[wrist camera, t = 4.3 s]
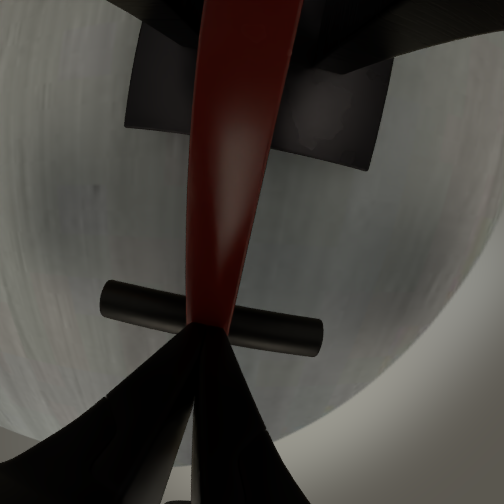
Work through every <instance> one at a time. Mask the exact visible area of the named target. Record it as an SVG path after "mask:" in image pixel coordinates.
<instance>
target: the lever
mask: <svg viewBox="0 0 504 504" xmlns="http://www.w3.org/2000/svg"><path fill="white" fill-rule="evenodd" d="M303 3H304V0H204V2H203V10H202V17H201V25H200V33H199V41H198V50H197V59H196V68H195V78H194V89H193V101H192V113H191V127H190V142H189V159H188V180H187V207H186V265H185V281H186V296H184V295H180V294H175V293H170V292H165V291H160V290H156V289H151V288H146V287H142V286H137V285H133V284H128V283H124V282H120V281H115V280H108V281H107V282H106V284H105V285H104V287H103V290H102V293H101V297H100V312H101V315H102V316H104V317H106V318H110V319H114V320H118V321H121V322H125V323H129V324H133V325H138V326H142V327H146V328H150V329H155V330H159V331H163V332H168V333H172V334H178V333H179V332H180V331H181V330H182V329H183V328H185V327H186V326H187V325H188V324H189V323H191V322H195V323H200V324H205V325H206V326H207V327H208V326H215V327H221V328H223V329H224V330H225V332H226V335H227V337H228V340H229V342H230V345H234V346H240V347H246V348H252V349H258V350H265V351H272V352H278V353H286V354H293V355H301V356H309V357H315V356H317V354H318V353H319V351H320V348H321V345H322V341H323V331H324V330H323V323H322V321H321V320H320V319H316V318H309V317H303V316H296V315H290V314H284V313H277V312H271V311H265V310H260V309H254V308H248V307H242V306H237V305H235V303H236V299H237V294H238V290H239V285H240V281H241V276H242V272H243V267H244V263H245V258H246V254H247V249H248V245H249V240H250V236H251V231H252V227H253V223H254V218H255V214H256V209H257V205H258V200H259V196H260V191H261V187H262V182H263V178H264V174H265V169H266V165H267V160H268V156H269V151H270V147H271V143H272V138H273V134H274V129H275V125H276V121H277V116H278V112H279V107H280V103H281V99H282V94H283V90H284V86H285V81H286V77H287V73H288V68H289V64H290V60H291V55H292V51H293V47H294V42H295V38H296V34H297V29H298V25H299V21H300V16H301V12H302V8H303Z"/></svg>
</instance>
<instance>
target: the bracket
mask: <svg viewBox="0 0 504 504" xmlns="http://www.w3.org/2000/svg"><path fill="white" fill-rule="evenodd" d="M107 1H108V2H110V3H112V4H114V5H116V6H117V7H119V8H121V9H123V10H124V11H126V12H128V13H129V14H131V15H133V16H135V17H136V18H138V19H140V20H141V21H142V24H141V29H140V33H139V38H138V43H137V47H136V52H135V58H134V63H133V68H132V74H131V80H130V86H129V93H128V99H127V107H126V114H125V122H124V127H126V128H135V129H145V130H154V131H163V132H171V133H179V134H187V135H190V127H191V113H192V101H193V89H194V78H195V68H196V59H197V50H198V41H199V33H200V25H201V17H202V10H203V2H204V0H107ZM498 31H504V0H304V3H303V8H302V12H301V16H300V21H299V25H298V29H297V34H296V38H295V42H294V47H293V51H292V55H291V60H290V64H289V68H288V73H287V77H286V81H285V86H284V90H283V94H282V99H281V103H280V107H279V112H278V116H277V121H276V125H275V129H274V134H273V138H272V143H271V147H270V149H275V150H279V151H284V152H289V153H293V154H298V155H302V156H307V157H311V158H315V159H320V160H324V161H328V162H332V163H336V164H340V165H344V166H348V167H351V168H355V169H359V170H362V171H368V169H369V166H370V162H371V158H372V154H373V151H374V147H375V143H376V139H377V135H378V130H379V126H380V122H381V118H382V113H383V109H384V105H385V100H386V95H387V91H388V86H389V81H390V76H391V71H392V66H393V61H394V57H397V56H400V55H403V54H406V53H410V52H413V51H416V50H420V49H423V48H427V47H431V46H434V45H438V44H442V43H446V42H450V41H454V40H459V39H463V38H467V37H472V36H477V35H482V34H487V33H492V32H498Z"/></svg>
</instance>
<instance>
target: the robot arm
mask: <svg viewBox="0 0 504 504" xmlns="http://www.w3.org/2000/svg"><path fill="white" fill-rule="evenodd" d="M193 404H194V410H193V431H192V467H191V469H192V470H191V471H192V472H191V504H310V502H309V501H308V500H307V498H306V497H305V495H304V494H303V492H302V491H301V489H300V488H299V486H298V485H297V484H296V482H295V481H294V479H293V477H292V476H291V474H290V473H289V471H288V469H287V468H286V466H285V465H284V463H283V461H282V459H281V457H280V455H279V453H278V452H277V450H276V448H275V446H274V444H273V442H272V439H271V437H270V435H269V433H268V431H267V430H266V426H265V424H264V422H263V420H262V418H261V415H260V413H259V411H258V408H257V406H256V404H255V402H254V399H253V397H252V395H251V392H250V390H249V388H248V385H247V383H246V381H245V378H244V376H243V374H242V371H241V369H240V366H239V364H238V362H237V359H236V357H235V354H234V352H233V349H232V347H231V345H230V342H229V340H228V337H227V335H226V332H225V330H224V329H223V328H221V327H215V326H208V327H207V326H206V325H205V324H200V323H195V322H191V323H189V324H188V325H187V326H186V327H185V328H183V329H182V330H181V331H180V332H179V333H178V334H177V335H175V336H174V337H173V338H172V339H171V340H170V341H168V342H167V343H166V344H165V345H164V346H163V347H162V348H160V349H159V350H158V351H157V352H156V353H155V354H153V355H152V356H151V357H150V358H149V359H148V360H146V361H145V362H144V363H143V364H142V365H141V366H139V367H138V368H137V369H136V370H135V371H134V372H132V373H131V374H130V375H129V376H128V377H127V378H125V379H124V380H123V381H122V382H121V383H120V384H118V385H117V386H116V387H115V388H114V389H113V390H111V391H110V392H109V393H108V394H107V395H106V397H103V398H102V399H101V400H99V401H98V402H97V403H96V404H95V405H94V406H92V407H91V408H90V409H89V410H87V411H86V412H85V413H83V414H82V415H81V416H80V417H78V418H77V419H75V420H74V421H73V422H71V423H70V424H68V425H67V426H65V427H64V428H62V429H61V430H59V431H58V432H56V433H54V434H53V435H51V436H50V437H48V438H46V439H45V440H43V441H41V442H40V443H38V444H37V445H35V446H33V447H32V448H30V449H29V450H27V451H25V452H23V453H22V454H20V455H18V456H16V457H15V458H13V459H10V460H8V461H5V462H2V463H0V504H160V503H161V500H162V497H163V494H164V491H165V488H166V485H167V482H168V479H169V476H170V473H171V470H172V467H173V464H174V461H175V458H176V455H177V452H178V449H179V446H180V444H181V441H182V438H183V435H184V432H185V429H186V426H187V423H188V420H189V417H190V414H191V411H192V407H193Z"/></svg>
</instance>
